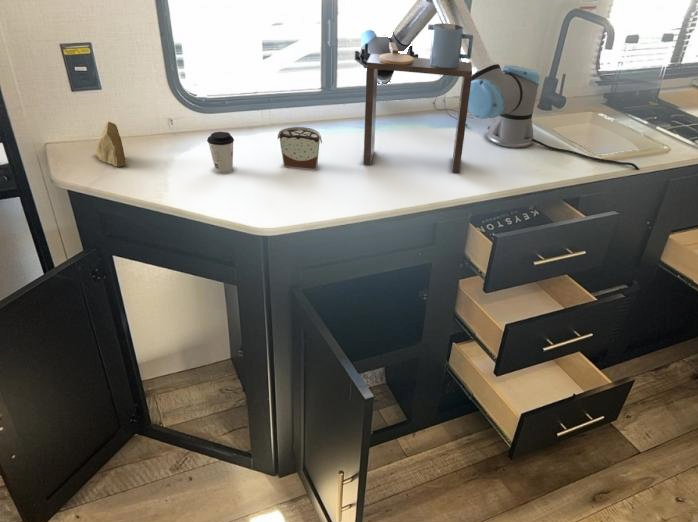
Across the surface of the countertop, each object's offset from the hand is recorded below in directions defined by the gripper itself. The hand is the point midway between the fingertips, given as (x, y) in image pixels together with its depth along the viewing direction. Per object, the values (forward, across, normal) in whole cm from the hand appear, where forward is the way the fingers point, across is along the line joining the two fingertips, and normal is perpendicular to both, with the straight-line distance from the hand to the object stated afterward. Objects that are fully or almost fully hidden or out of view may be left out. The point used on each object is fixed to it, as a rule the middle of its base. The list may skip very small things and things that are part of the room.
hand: (388, 49), depth 182 cm
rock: (+12, +78, -37) cm, 87 cm away
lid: (+17, 0, -7) cm, 18 cm away
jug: (+23, -13, -10) cm, 28 cm away
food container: (+11, +26, -37) cm, 46 cm away
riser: (+8, -7, -35) cm, 36 cm away
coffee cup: (+15, +47, -39) cm, 63 cm away
